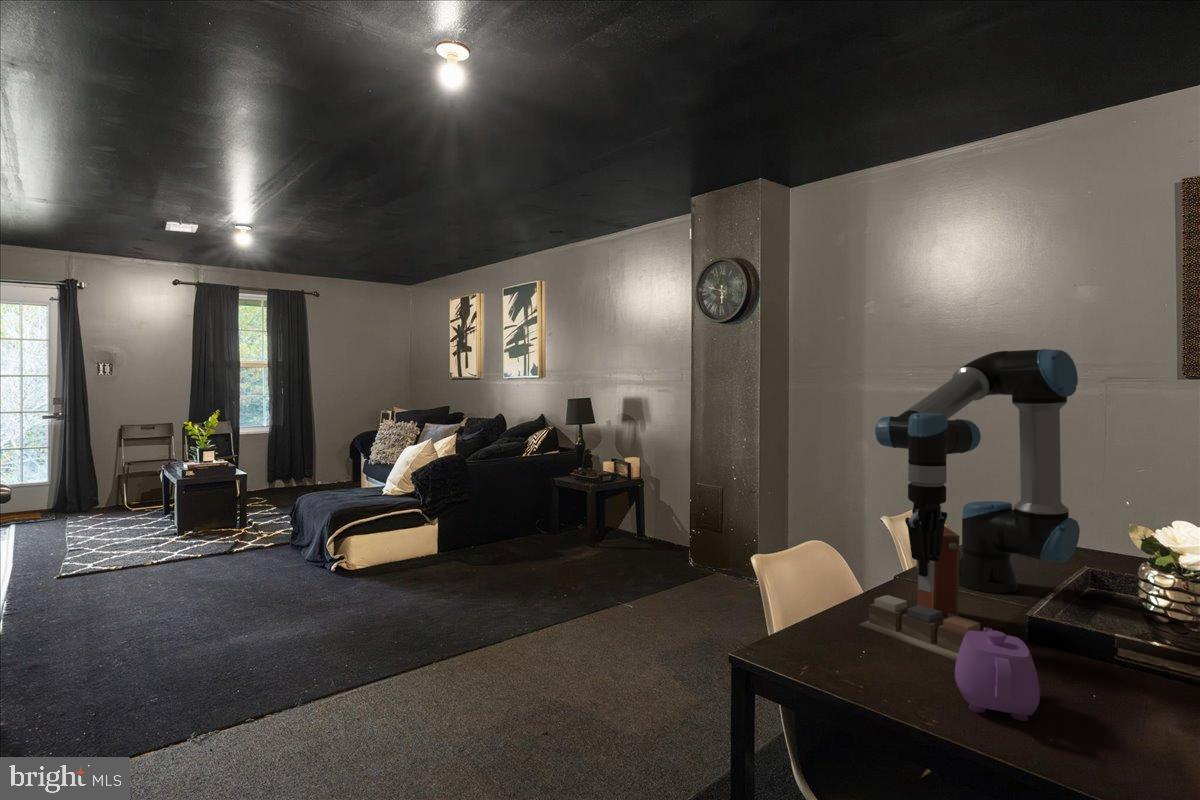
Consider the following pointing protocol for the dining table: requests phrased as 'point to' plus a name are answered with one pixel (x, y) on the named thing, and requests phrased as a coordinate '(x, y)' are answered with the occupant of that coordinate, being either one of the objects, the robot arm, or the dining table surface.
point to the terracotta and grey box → (944, 578)
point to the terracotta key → (960, 625)
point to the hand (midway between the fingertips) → (926, 589)
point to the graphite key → (924, 614)
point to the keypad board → (915, 631)
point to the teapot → (997, 674)
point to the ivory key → (890, 603)
